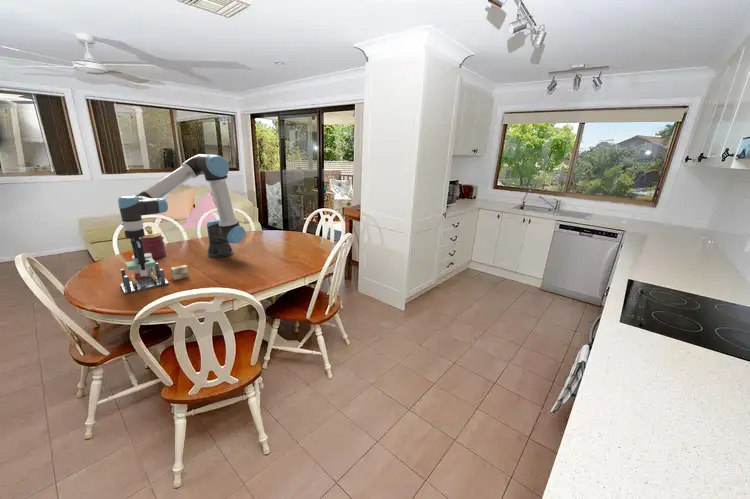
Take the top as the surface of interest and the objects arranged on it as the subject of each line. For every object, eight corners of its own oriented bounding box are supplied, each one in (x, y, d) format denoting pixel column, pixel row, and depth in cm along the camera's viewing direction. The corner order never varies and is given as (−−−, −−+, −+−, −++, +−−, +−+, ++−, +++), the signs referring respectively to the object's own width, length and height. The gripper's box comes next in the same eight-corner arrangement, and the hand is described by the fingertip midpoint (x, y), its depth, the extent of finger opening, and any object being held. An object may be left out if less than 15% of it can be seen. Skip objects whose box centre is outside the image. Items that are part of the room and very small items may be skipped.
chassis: (162, 276, 167) (160, 262, 165) (168, 284, 159) (166, 269, 156) (120, 285, 155) (117, 269, 152) (124, 294, 146) (121, 278, 144)
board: (152, 261, 160) (151, 256, 159) (155, 265, 155) (155, 260, 154) (125, 266, 153) (124, 260, 152) (128, 270, 147) (127, 265, 146)
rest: (187, 274, 171) (185, 264, 169) (188, 276, 169) (187, 266, 167) (172, 278, 167) (170, 267, 165) (174, 279, 164) (172, 269, 162)
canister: (143, 261, 187) (137, 233, 182) (140, 255, 196) (135, 228, 191) (168, 257, 195) (163, 230, 190) (164, 252, 204) (160, 226, 199)
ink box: (135, 278, 164) (131, 257, 160) (136, 275, 167) (131, 254, 164) (155, 275, 168) (151, 255, 165) (155, 272, 172) (151, 252, 168)
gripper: (120, 225, 152) (129, 268, 159) (127, 234, 138) (137, 281, 145) (139, 223, 157) (147, 265, 164) (147, 232, 143) (156, 277, 150)
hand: (142, 272), depth 155 cm, fingers closed on board, 8 cm apart
